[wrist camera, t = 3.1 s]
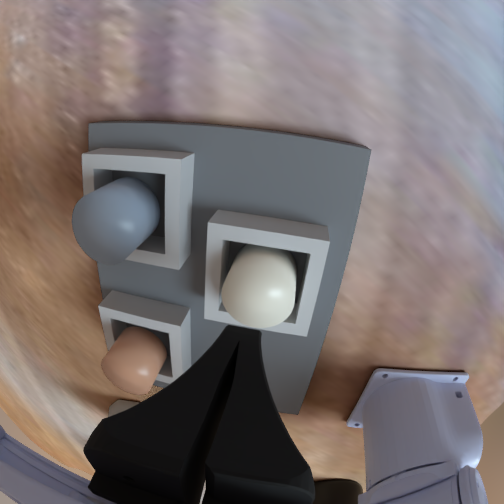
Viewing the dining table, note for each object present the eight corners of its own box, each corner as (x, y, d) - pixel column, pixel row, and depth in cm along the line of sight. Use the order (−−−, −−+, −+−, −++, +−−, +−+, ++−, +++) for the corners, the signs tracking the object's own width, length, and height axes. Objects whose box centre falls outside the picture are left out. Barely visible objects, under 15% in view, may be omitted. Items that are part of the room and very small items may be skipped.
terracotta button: (165, 333, 20) (147, 364, 17) (168, 370, 22) (153, 400, 19) (117, 321, 20) (96, 348, 18) (124, 357, 22) (107, 385, 19)
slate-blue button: (160, 179, 16) (132, 196, 13) (160, 244, 17) (135, 270, 14) (102, 174, 16) (68, 190, 13) (105, 235, 17) (76, 257, 15)
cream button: (301, 246, 17) (300, 273, 15) (291, 300, 19) (287, 333, 16) (236, 235, 18) (223, 260, 15) (231, 290, 19) (219, 320, 17)
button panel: (365, 146, 16) (379, 155, 13) (299, 401, 26) (296, 433, 22) (102, 121, 18) (68, 127, 15) (126, 363, 27) (110, 389, 24)
